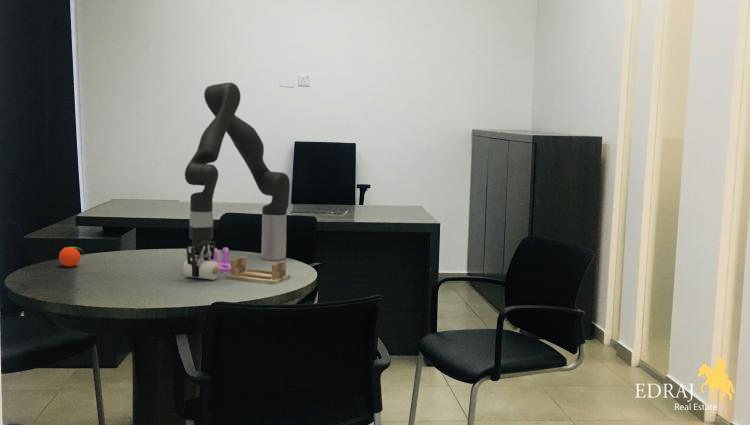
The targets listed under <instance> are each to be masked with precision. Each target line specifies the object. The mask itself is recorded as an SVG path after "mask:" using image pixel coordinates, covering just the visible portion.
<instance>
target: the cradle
mask: <svg viewBox="0 0 750 425" xmlns="http://www.w3.org/2000/svg"><path fill="white" fill-rule="evenodd" d="M246 261H247V257H246V256H241V257H237V258H234V259H230V265H231V272H230V273H229V274H226V275H225V279H226V280H232V279H233V280H235V281H243V282H250V281H251V282H250V283H258V282H260V284H267V283H271V284H270V285H276V284H279V283H281V282H283V281H285V279H286V280H288V279H290V278H291V274H287V270H286V269H287V262H286V260H279V261H278V262H275V263H272V264H271V271H270V270H262V269H252V268H251V269H250V268H247V267H246V266H247V263H246ZM246 268H247V269H246ZM280 281H281V282H280ZM278 282H279V283H278ZM275 283H276V284H275Z"/></svg>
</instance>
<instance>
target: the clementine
mask: <svg viewBox="0 0 750 425" xmlns="http://www.w3.org/2000/svg"><path fill="white" fill-rule="evenodd" d="M79 250H81V252H82V253H83V254H85V253H84V251H82V249H81V248H80V247H78V246H77V247H76V246H67V247H66V246H65V247H64V248H62V249H61V250H60V251H59V255H58V259H59V263H60V264H62V265H63V266H65V267H68V268H71V267H74V266H76V265H77V264H78V263H79V262H80V260H81V253H80V251H79Z"/></svg>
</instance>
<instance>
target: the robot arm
mask: <svg viewBox="0 0 750 425" xmlns="http://www.w3.org/2000/svg"><path fill="white" fill-rule="evenodd" d="M203 95H204V96H203V97H204V101H205V104H206V106H207V107H208V109H209V110H210V111H211V113H212V114H213V116H214V119H213V120H212V121H211V122H210V123H209V125H207V127H206V128H205V129H204V130H203V133H202V135H201V137H200V140H199V143H198V147H197V150H196V151H195V153H194V155H193V157H192V158H191V160H190V161H189V162H188V164H187V166H186V168H185V169H184V170H185V171H184V179H185V181H186V183H187V184H189V185H190V186H191V185H192V186H203V190H202V191H198V192H194V193H192V194H190V200H189V201H190V209H189V210H190V211H189V236H188V237H189V239H190V240H192V244H191V246H186V260H187V263H188V264H190V265H192V276H193V277H192V278H194V277H199V262H200V260H207V261H211V260H212V259H214V252H215V248H216V241H211V240H212V239H214V214H213V198H214V193H215V189H216V186H217V183H218V179H219V171H218V168H217V166H215V165H214V164H211V163H215V162H216V161H217V160H218V158H219V155H220V151H221V147H222V145H223V141H224V139H225V138H224V137H225V135H226V133H227V135H228V136H229V138H230V140H231V141H232V143H233V146H235V148H236V151H237V152H238V153H239V155H240V156H241V158H242V159H243V161H244V162H245V164H246V165H247V168H248V169H249V171H250V173H251V175H252V177H253V180H254V182H255V184H256V187H257V188H258V190H259V191H260V193H262V194H263V195H265V196H269V197H271V202H270V203H269V204H266V205H264V206H262V208H261V216H262V217H261V252H260V253H261V255H260V256H261V259H262V260H267V261H284V260H286V257H287V214H288V213H287V210H288V208H289V202H290V193H291V192H290V191H291V184H290V183H291V182H290V178H289V176H288V174H287V173H285V172H280V171H271V170H270V169H269V168H268V167H267V165H266V163H265V161H264V152H265V146H264V143H263V140H262V139H261V138H260V136H259V134H258V132H257V131H256V129H255V128H254V127H253V126H251V124H249V123H247V122H246V121H244V120H243V119H241V118H240V117H238V116H237V115H236V112H237V110H238V108H239V105H240V102H241V91H240V88H239V87H238V85H237V84H236V83H233V82H223V83H216V84H211V85H209V86H207V87H206V88H205V89H204V94H203ZM191 259H192V260H191ZM196 259H197V261H196Z"/></svg>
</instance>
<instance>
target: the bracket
mask: <svg viewBox="0 0 750 425" xmlns="http://www.w3.org/2000/svg"><path fill="white" fill-rule="evenodd" d="M221 252H222V254H221V255H222V256H221V257H222V258H221V260H222V261H218V254H219V253H218V248H217V247H215V252H214V259H212V260H211V261H216V262H217V263H218V265H219V273H224V272H229V273H231V263H230V250H229V248H228V247H223V248H222V251H221Z"/></svg>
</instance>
